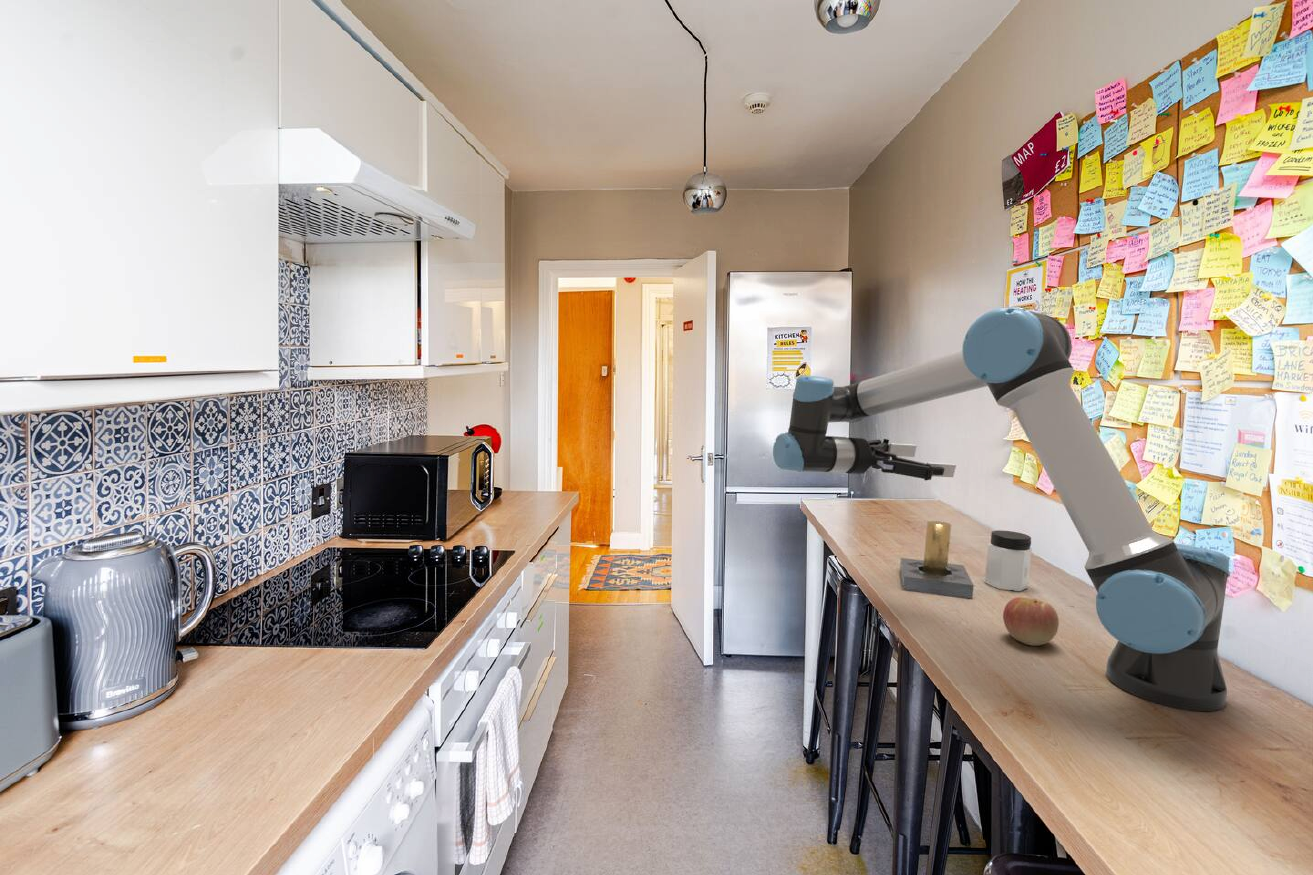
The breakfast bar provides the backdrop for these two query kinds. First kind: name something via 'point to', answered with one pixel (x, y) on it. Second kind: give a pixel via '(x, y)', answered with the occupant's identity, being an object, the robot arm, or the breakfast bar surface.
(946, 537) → the brass cylinder
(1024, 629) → the apple
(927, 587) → the jig
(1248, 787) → the breakfast bar surface
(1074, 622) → the breakfast bar surface
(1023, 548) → the jar
